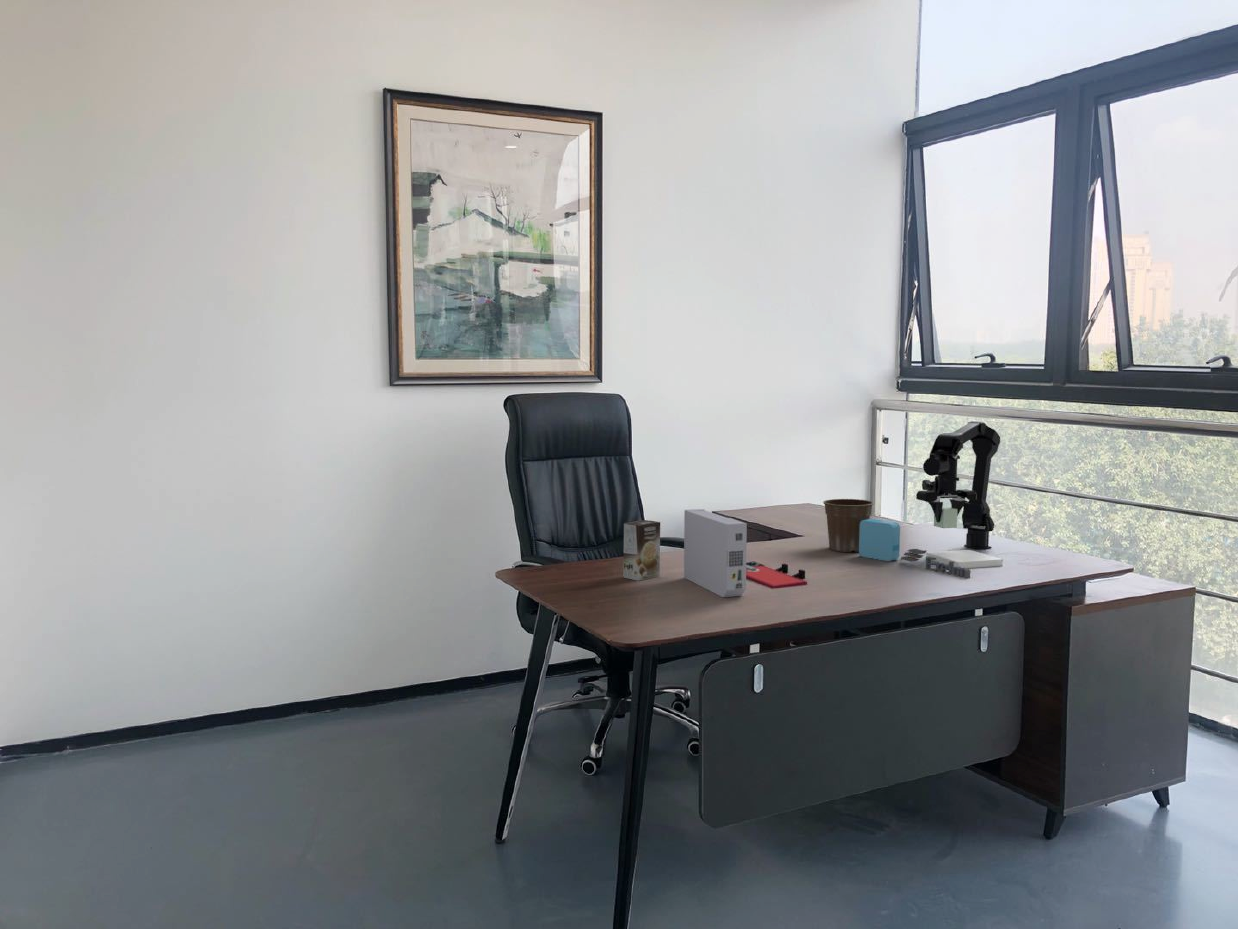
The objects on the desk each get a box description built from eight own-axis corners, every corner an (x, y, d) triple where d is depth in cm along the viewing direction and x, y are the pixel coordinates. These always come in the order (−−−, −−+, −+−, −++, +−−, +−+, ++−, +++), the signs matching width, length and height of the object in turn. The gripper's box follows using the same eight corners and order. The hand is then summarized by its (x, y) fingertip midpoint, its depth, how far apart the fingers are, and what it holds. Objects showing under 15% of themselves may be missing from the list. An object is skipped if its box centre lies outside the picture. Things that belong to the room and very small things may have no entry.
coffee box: (638, 581, 262) (638, 525, 260) (622, 577, 267) (622, 522, 265) (660, 576, 268) (660, 521, 267) (644, 573, 273) (644, 519, 271)
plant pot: (815, 550, 307) (816, 502, 305) (831, 543, 320) (832, 497, 319) (863, 556, 298) (865, 506, 297) (878, 548, 312) (879, 500, 310)
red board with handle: (758, 563, 287) (717, 568, 281) (758, 554, 287) (717, 559, 280) (818, 585, 260) (773, 591, 254) (818, 575, 260) (773, 581, 253)
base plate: (968, 555, 299) (968, 549, 298) (1002, 565, 283) (1002, 559, 283) (926, 558, 294) (926, 552, 294) (958, 568, 279) (958, 562, 279)
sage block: (947, 525, 300) (948, 507, 299) (956, 527, 295) (957, 509, 294) (933, 525, 298) (934, 507, 298) (943, 528, 293) (943, 509, 293)
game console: (702, 576, 268) (702, 508, 266) (746, 598, 243) (747, 523, 241) (683, 578, 266) (684, 509, 264) (726, 599, 241) (727, 524, 239)
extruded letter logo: (899, 563, 288) (900, 545, 287) (903, 563, 288) (904, 545, 288) (966, 579, 266) (967, 560, 266) (970, 578, 267) (970, 559, 266)
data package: (899, 560, 292) (900, 522, 291) (891, 562, 289) (893, 524, 288) (866, 554, 301) (867, 518, 299) (858, 556, 298) (859, 519, 296)
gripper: (957, 470, 305) (955, 517, 307) (907, 471, 300) (905, 519, 302) (978, 474, 294) (976, 522, 296) (927, 475, 289) (925, 524, 291)
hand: (945, 522), depth 296 cm, fingers closed on sage block, 5 cm apart
